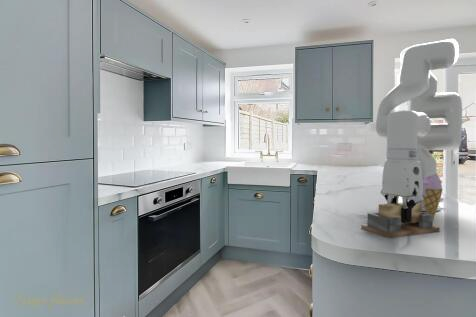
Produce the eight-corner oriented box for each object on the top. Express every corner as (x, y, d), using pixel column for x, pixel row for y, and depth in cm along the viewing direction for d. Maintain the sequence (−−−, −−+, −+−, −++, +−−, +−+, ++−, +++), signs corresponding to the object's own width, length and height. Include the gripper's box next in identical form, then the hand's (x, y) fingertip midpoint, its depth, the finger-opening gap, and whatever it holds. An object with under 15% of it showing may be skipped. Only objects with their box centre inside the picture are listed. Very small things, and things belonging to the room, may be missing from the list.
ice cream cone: (433, 222, 94) (434, 174, 94) (413, 218, 100) (414, 172, 99) (445, 220, 97) (447, 173, 97) (426, 216, 103) (427, 171, 102)
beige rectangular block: (410, 218, 90) (410, 201, 90) (421, 221, 87) (421, 204, 87) (378, 222, 86) (378, 204, 86) (388, 225, 83) (388, 206, 83)
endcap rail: (408, 222, 94) (408, 208, 94) (439, 231, 85) (440, 215, 85) (361, 228, 88) (361, 212, 88) (389, 237, 79) (389, 220, 79)
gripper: (439, 156, 79) (437, 226, 80) (388, 154, 95) (387, 213, 96) (417, 156, 77) (415, 229, 78) (368, 154, 92) (367, 215, 93)
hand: (399, 219), depth 87 cm, fingers closed on beige rectangular block, 3 cm apart
